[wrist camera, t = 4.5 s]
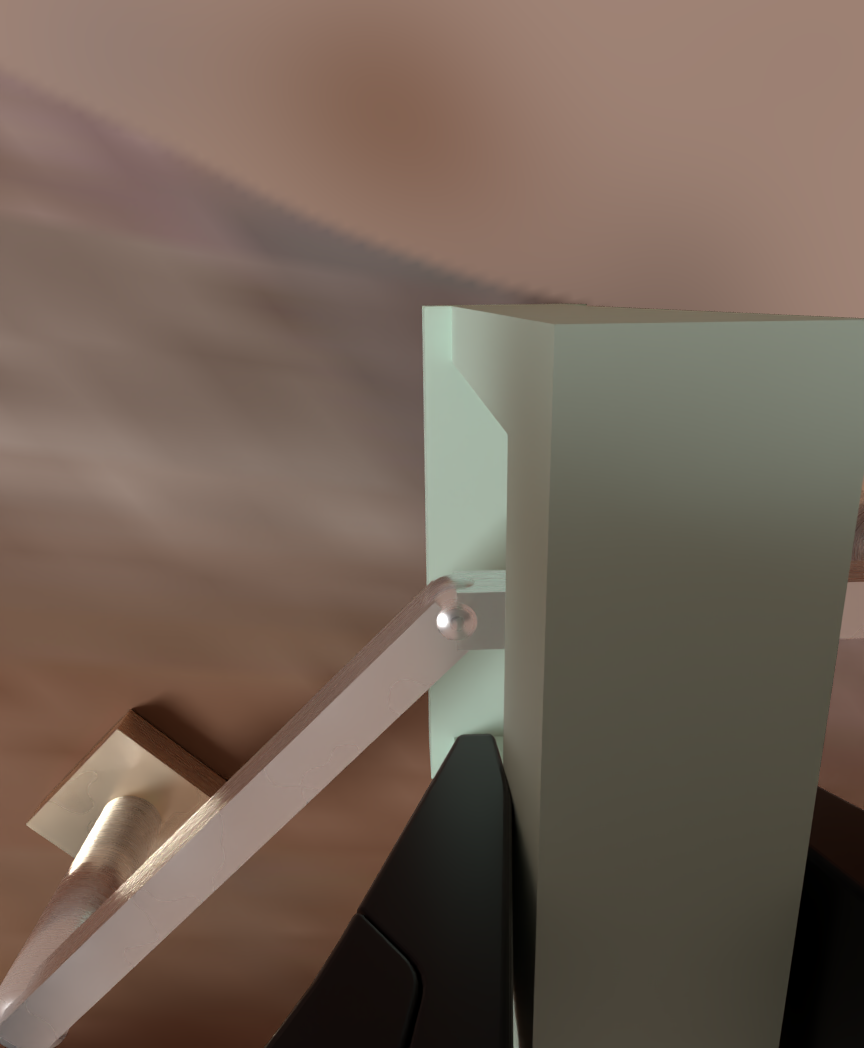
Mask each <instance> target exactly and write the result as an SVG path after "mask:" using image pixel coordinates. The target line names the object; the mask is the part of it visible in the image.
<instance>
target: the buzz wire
mask: <svg viewBox="0 0 864 1048" xmlns="http://www.w3.org/2000/svg"><path fill="white" fill-rule="evenodd" d="M505 594H506V570H485V571H453V574H449V575H445V576H442V577H440V578H438V579H436V580H435V581H433V580H432V581H431V582H430V583H429V584H428V585H427V586H426V587H425V588H424V589H423V590H422V591H421V592H420V593H419V594H418V595H417V596H416V597H415V598H414V599H413V600H412V601H411V602H410V603H409V604H408V605H407V606H406V607H405V608H404V609H403V610H402V611H400V612H399V613H398V614H397V615H396V616H395V617H394V618H393V619H392V620H391V621H390V622H389V623H388V624H387V625H386V626H385V627H384V628H383V629H382V630H381V631H380V632H379V633H378V634H377V635H376V636H375V637H374V638H373V639H372V640H371V641H370V642H369V643H368V644H367V645H366V646H365V647H364V648H363V649H362V650H361V651H360V652H359V653H358V654H357V655H356V656H355V657H354V658H353V659H352V660H351V661H350V662H348V663H347V664H346V665H345V666H344V667H343V668H342V669H341V670H340V671H339V672H338V673H337V674H336V675H335V676H334V677H333V678H332V679H331V680H330V681H329V682H328V683H327V684H326V685H325V686H324V687H323V688H322V689H321V690H320V691H319V692H318V693H317V694H316V695H315V696H314V697H313V698H312V699H311V700H310V701H309V702H308V703H307V704H306V705H305V706H304V707H303V708H302V709H301V710H300V711H299V712H298V713H296V714H295V715H294V716H293V717H292V718H291V719H290V720H289V721H288V722H287V723H286V724H285V725H284V726H283V727H282V728H281V729H280V730H279V731H278V732H277V733H276V734H275V735H274V736H273V737H272V738H271V739H270V740H269V741H268V742H267V743H266V744H265V745H264V746H263V747H262V748H261V749H260V750H259V751H258V752H257V753H256V754H255V755H254V756H253V757H252V758H251V759H250V760H249V761H248V762H247V763H246V764H244V765H243V766H242V767H241V768H240V769H239V770H238V771H237V772H236V773H235V774H234V775H233V776H232V777H231V778H230V779H229V780H228V781H225V780H224V779H223V778H221V777H220V776H219V775H217V774H216V773H215V772H213V771H212V770H211V769H209V768H208V767H207V766H205V765H204V764H203V763H201V762H200V761H199V760H197V759H196V758H195V757H194V756H192V755H191V754H190V753H188V752H187V751H186V750H184V749H183V748H182V747H180V746H179V745H178V744H176V743H175V742H174V741H172V740H171V739H170V738H168V737H167V736H166V735H164V734H163V733H162V732H160V731H159V730H158V729H156V728H155V727H154V726H152V725H151V724H150V723H148V722H147V721H146V720H144V719H143V718H142V717H140V716H139V715H138V714H136V713H135V712H134V711H132V710H131V709H130V710H129V711H128V713H127V714H126V715H125V716H124V717H123V718H122V719H121V720H120V721H119V722H118V723H117V724H116V725H115V726H114V727H113V728H112V729H111V730H110V731H109V732H108V733H107V734H106V736H105V737H104V738H103V739H102V740H101V741H100V742H99V743H98V744H97V745H96V746H95V747H94V748H93V749H92V750H91V751H90V752H89V753H88V754H87V755H86V756H85V757H84V759H83V760H82V761H81V762H80V763H79V764H78V765H77V766H76V767H75V768H74V769H73V770H72V771H71V772H70V773H69V774H68V775H67V776H66V777H65V778H64V779H63V780H62V782H61V783H60V784H59V785H58V786H57V787H56V788H55V789H54V790H53V791H52V792H51V793H50V794H49V795H48V796H47V797H46V798H45V799H44V800H43V801H42V803H41V804H40V806H39V807H38V808H37V810H36V811H35V813H34V814H33V815H32V817H31V818H30V820H29V821H28V822H27V824H26V825H27V826H28V827H30V828H31V829H33V830H34V831H36V832H37V833H39V834H40V835H41V836H43V837H44V838H46V839H47V840H49V841H50V842H52V843H53V844H55V845H56V846H57V847H59V848H60V849H62V850H63V851H65V852H66V853H68V854H69V855H71V856H72V857H74V858H75V859H74V861H73V863H72V864H71V866H70V868H69V869H68V871H67V873H66V875H65V876H64V878H63V880H62V881H61V883H60V885H59V886H58V888H57V890H56V892H55V893H54V895H53V897H52V898H51V900H50V902H49V904H48V905H47V907H46V909H45V910H44V912H43V914H42V915H41V917H40V919H39V921H38V922H37V924H36V926H35V927H34V929H33V931H32V933H31V934H30V936H29V938H28V939H27V941H26V943H25V944H24V946H23V948H22V950H21V951H20V953H19V955H18V956H17V958H16V960H15V962H14V963H13V965H12V967H11V968H10V970H9V972H8V974H7V975H6V977H5V979H4V980H3V982H2V984H1V985H0V1044H2V1045H4V1046H5V1047H7V1048H54V1047H56V1046H57V1045H59V1044H60V1043H61V1042H62V1041H63V1040H64V1038H65V1037H66V1035H67V1033H68V1030H69V1028H70V1027H71V1026H72V1025H73V1024H74V1023H75V1022H76V1021H77V1020H79V1019H80V1018H81V1017H82V1016H83V1015H84V1014H85V1013H86V1012H87V1011H88V1010H89V1009H90V1008H91V1007H92V1006H93V1005H94V1004H95V1003H97V1002H98V1001H99V1000H100V999H101V998H102V997H103V996H104V995H105V994H106V993H107V992H108V991H109V990H110V989H111V988H112V987H113V986H115V985H116V984H117V983H118V982H119V981H120V980H121V979H122V978H123V977H124V976H125V975H126V974H127V973H128V972H129V971H130V970H131V969H133V968H134V967H135V966H136V965H137V964H138V963H139V962H140V961H141V960H142V959H143V958H144V957H145V956H146V955H147V954H148V953H149V952H151V951H152V950H153V949H154V948H155V947H156V946H157V945H158V944H159V943H160V942H161V941H162V940H163V939H164V938H165V937H166V936H167V935H169V934H170V933H171V932H172V931H173V930H174V929H175V928H176V927H177V926H178V925H179V924H180V923H181V922H182V921H183V920H184V919H185V918H187V917H188V916H189V915H190V914H191V913H192V912H193V911H194V910H195V909H196V908H197V907H198V906H199V905H200V904H201V903H202V902H203V901H205V900H206V899H207V898H208V897H209V896H210V895H211V894H212V893H213V892H214V891H215V890H216V889H217V888H218V887H219V886H220V885H221V884H223V883H224V882H225V881H226V880H227V879H228V878H229V877H230V876H231V875H232V874H233V873H234V872H235V871H236V870H237V869H238V868H240V867H241V866H242V865H243V864H244V863H245V862H246V861H247V860H248V859H249V858H250V857H251V856H252V855H253V854H254V853H255V852H256V851H258V850H259V849H260V848H261V847H262V846H263V845H264V844H265V843H266V842H267V841H268V840H269V839H270V838H271V837H272V836H273V835H274V834H276V833H277V832H278V831H279V830H280V829H281V828H282V827H283V826H284V825H285V824H286V823H287V822H288V821H289V820H290V819H291V818H292V817H294V816H295V815H296V814H297V813H298V812H299V811H300V810H301V809H302V808H303V807H304V806H305V805H306V804H307V803H308V802H309V801H310V800H312V799H313V798H314V797H315V796H316V795H317V794H318V793H319V792H320V791H321V790H322V789H323V788H324V787H325V786H326V785H327V784H328V783H330V782H331V781H332V780H333V779H334V778H335V777H336V776H337V775H338V774H339V773H340V772H341V771H342V770H343V769H344V768H345V767H346V766H348V765H349V764H350V763H351V762H352V761H353V760H354V759H355V758H356V757H357V756H358V755H359V754H360V753H361V752H362V751H363V750H364V749H366V748H367V747H368V746H369V745H370V744H371V743H372V742H373V741H374V740H375V739H376V738H377V737H378V736H379V735H380V734H381V733H382V732H384V731H385V730H386V729H387V728H388V727H389V726H390V725H391V724H392V723H393V722H394V721H395V720H396V719H397V718H398V717H399V716H400V715H402V714H403V713H404V712H405V711H406V710H407V709H408V708H409V707H410V706H411V705H412V704H413V703H414V702H415V701H416V700H417V699H418V698H420V697H421V696H422V695H423V694H424V693H425V692H426V691H427V690H428V689H429V688H430V687H431V686H432V685H433V684H434V683H435V682H437V681H438V680H439V679H440V678H441V677H442V676H443V675H444V674H445V673H446V672H447V671H448V670H449V669H450V668H451V667H452V666H453V665H455V664H456V663H457V662H458V661H459V660H460V659H461V658H462V657H463V656H464V655H465V654H466V653H467V652H468V651H469V650H485V649H505ZM856 638H864V476H863V482H862V489H861V496H860V503H859V509H858V516H857V523H856V530H855V536H854V543H853V550H852V557H851V563H850V570H849V577H848V583H847V590H846V597H845V604H844V610H843V617H842V624H841V631H840V637H839V639H856Z"/></svg>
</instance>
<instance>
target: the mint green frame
mask: <svg viewBox="0 0 864 1048" xmlns="http://www.w3.org/2000/svg"><path fill="white" fill-rule="evenodd" d="M586 305H587V304H504V305H434V306H422V330H423V391H424V452H425V513H426V574H427V585H428V584H429V583H430V582H431V581H432V580H433V581H435V580H436V579H438V578H440V577H442V576H445V575H449V574H453V571H485V570H506V594H505V649H485V650H469V651H468V652H467V653H466V654H465V655H464V656H463V657H462V658H461V659H460V660H459V661H458V662H457V663H456V664H455V665H453V666H452V667H451V668H450V669H449V670H448V671H447V672H446V673H445V674H444V675H443V676H442V677H441V678H440V679H439V680H438V681H437V682H435V683H434V684H433V685H432V686H431V687H430V688H429V689H428V696H429V745H430V762H431V778H432V779H433V778H434V777H435V775H436V773H437V771H438V770H439V768H440V766H441V764H442V763H443V761H444V759H445V758H446V756H447V754H448V752H449V751H450V749H451V747H452V745H453V744H454V742H455V740H456V739H457V737H458V736H460V735H463V734H491V735H493V736H494V738H495V739H496V743H497V746H498V749H499V753H500V756H501V759H502V763H503V767H504V770H505V774H506V777H507V780H508V784H509V788H510V792H511V799H512V896H513V1048H779V1041H780V1035H781V1028H782V1021H783V1014H784V1008H785V1001H786V994H787V988H788V981H789V974H790V967H791V961H792V954H793V947H794V940H795V934H796V927H797V920H798V913H799V907H800V900H801V893H802V887H803V880H804V873H805V866H806V860H807V853H808V846H809V839H810V833H811V826H812V819H813V812H814V806H815V799H816V792H817V786H818V779H819V772H820V765H821V759H822V752H823V745H824V738H825V732H826V725H827V718H828V711H829V705H830V698H831V691H832V684H833V678H834V671H835V664H836V658H837V651H838V644H839V637H840V631H841V624H842V617H843V610H844V604H845V597H846V590H847V583H848V577H849V570H850V563H851V557H852V550H853V543H854V536H855V530H856V523H857V516H858V509H859V503H860V496H861V489H862V482H863V476H864V318H844V317H822V316H800V315H779V314H778V315H777V314H756V313H734V312H712V311H689V310H669V309H646V308H645V309H644V308H624V307H602V306H586Z"/></svg>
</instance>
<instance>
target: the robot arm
mask: <svg viewBox="0 0 864 1048" xmlns="http://www.w3.org/2000/svg"><path fill="white" fill-rule="evenodd" d="M264 1048H513V896H512V799H511V792H510V788H509V784H508V780H507V777H506V774H505V770H504V767H503V763H502V759H501V756H500V753H499V749H498V746H497V743H496V739H495V738H494V736H493V735H491V734H463V735H460V736H458V737H457V739H456V740H455V742H454V744H453V745H452V747H451V749H450V751H449V752H448V754H447V756H446V758H445V759H444V761H443V763H442V764H441V766H440V768H439V770H438V771H437V773H436V775H435V777H434V778H433V780H432V782H431V783H430V785H429V787H428V789H427V790H426V792H425V794H424V795H423V797H422V799H421V801H420V802H419V804H418V806H417V808H416V809H415V811H414V813H413V814H412V816H411V818H410V820H409V821H408V823H407V825H406V827H405V828H404V830H403V832H402V833H401V835H400V837H399V839H398V840H397V842H396V844H395V846H394V847H393V849H392V851H391V852H390V854H389V856H388V858H387V859H386V861H385V863H384V865H383V866H382V868H381V870H380V871H379V873H378V875H377V877H376V878H375V880H374V882H373V884H372V885H371V887H370V889H369V890H368V892H367V894H366V896H365V897H364V899H363V901H362V902H361V904H360V906H359V908H358V910H357V914H355V915H354V916H353V917H352V919H351V921H350V922H349V924H348V926H347V928H346V929H345V931H344V933H343V935H342V936H341V938H340V940H339V942H338V943H337V945H336V946H335V948H334V950H333V951H332V953H331V954H330V956H329V957H328V959H327V961H326V962H325V964H324V965H323V967H322V968H321V970H320V972H319V973H318V975H317V976H316V978H315V979H314V981H313V983H312V984H311V986H310V987H309V988H308V990H307V991H306V992H305V994H304V995H303V996H302V998H301V999H300V1000H299V1002H298V1003H297V1005H296V1006H295V1007H294V1009H293V1010H292V1011H291V1013H290V1014H289V1015H288V1017H287V1018H286V1019H285V1021H284V1022H283V1023H282V1025H281V1026H280V1028H279V1029H278V1030H277V1032H276V1033H275V1034H274V1035H273V1037H272V1038H271V1039H270V1040H269V1042H268V1043H267V1044H266V1046H265V1047H264ZM779 1048H864V810H862V809H860V808H858V807H856V806H854V805H853V804H851V803H849V802H847V801H845V800H843V799H841V798H839V797H837V796H835V795H834V794H832V793H830V792H828V791H826V790H824V789H822V788H820V787H818V786H817V792H816V799H815V806H814V812H813V819H812V826H811V833H810V839H809V846H808V853H807V860H806V866H805V873H804V880H803V887H802V893H801V900H800V907H799V913H798V920H797V927H796V934H795V940H794V947H793V954H792V961H791V967H790V974H789V981H788V988H787V994H786V1001H785V1008H784V1014H783V1021H782V1028H781V1035H780V1041H779Z"/></svg>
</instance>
